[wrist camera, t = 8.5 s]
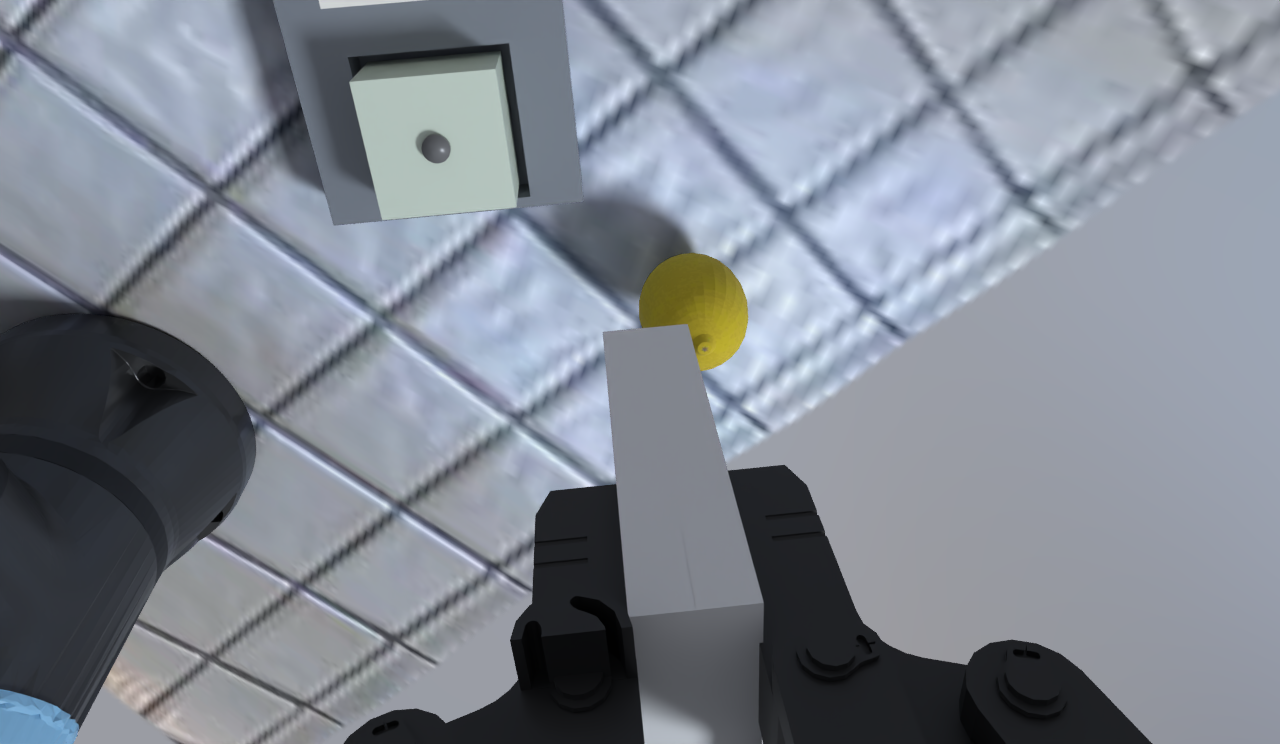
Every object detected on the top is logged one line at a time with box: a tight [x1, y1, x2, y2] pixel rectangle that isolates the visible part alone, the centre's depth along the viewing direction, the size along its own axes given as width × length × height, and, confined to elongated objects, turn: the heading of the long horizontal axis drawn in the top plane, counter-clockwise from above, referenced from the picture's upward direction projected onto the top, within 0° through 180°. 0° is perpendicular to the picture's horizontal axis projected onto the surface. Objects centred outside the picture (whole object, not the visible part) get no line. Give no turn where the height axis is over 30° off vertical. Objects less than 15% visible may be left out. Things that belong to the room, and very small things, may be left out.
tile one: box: [349, 51, 520, 220], centre depth 38 cm, size 6×6×4 cm
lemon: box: [639, 253, 748, 371], centre depth 43 cm, size 6×6×8 cm
